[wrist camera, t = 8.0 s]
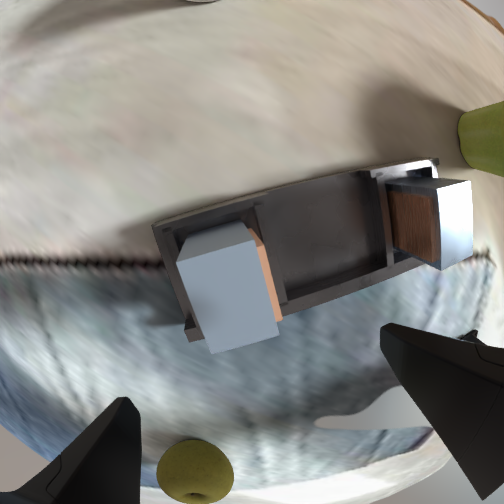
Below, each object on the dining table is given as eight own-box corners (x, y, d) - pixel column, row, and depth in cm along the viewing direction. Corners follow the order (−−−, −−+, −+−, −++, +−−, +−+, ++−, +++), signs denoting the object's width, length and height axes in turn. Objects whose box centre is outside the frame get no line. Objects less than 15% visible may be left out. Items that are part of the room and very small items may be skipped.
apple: (151, 429, 23) (143, 482, 16) (225, 426, 24) (232, 482, 17) (169, 462, 25) (167, 508, 18) (233, 460, 26) (240, 507, 19)
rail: (430, 244, 22) (486, 267, 15) (191, 323, 20) (185, 386, 13) (421, 157, 19) (484, 158, 12) (155, 222, 18) (122, 248, 11)
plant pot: (480, 202, 21) (541, 216, 13) (435, 145, 19) (510, 144, 11) (497, 139, 20) (552, 141, 12) (456, 81, 18) (517, 68, 9)
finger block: (265, 287, 19) (287, 332, 13) (211, 303, 19) (211, 354, 13) (246, 217, 18) (263, 236, 12) (188, 234, 17) (176, 262, 12)
